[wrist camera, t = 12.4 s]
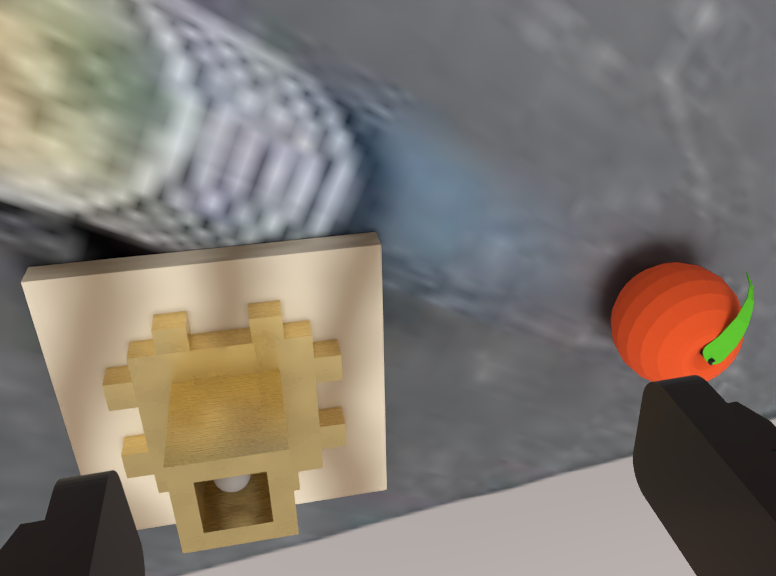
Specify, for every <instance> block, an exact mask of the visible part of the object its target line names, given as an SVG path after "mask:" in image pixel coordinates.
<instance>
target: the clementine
mask: <svg viewBox="0 0 776 576" xmlns="http://www.w3.org/2000/svg"><path fill="white" fill-rule="evenodd" d="M746 273H747V272H746ZM747 277H748V282H749V290H748V295H747V299H746V301H745V302H744V304H743V306H742V308H741V306H740V303H739V300H738V298H737V296H736V294H735V293H734V292H733V291H732V290H731V288H730V287H729V286H728V285H727V284H726V283H725V282H724V280H723V279H722V278H721V277H719V276H717V275H716V274H714V273H712V272H710V271H708V270H706V269H704V268H703V267H701V266H697V265H691V264H685V263H678V262H673V263H664V264H660V265H657V266H654V267H652V268H649V269H646V270H644V271H642V272H640V273H639V274H637V275H635V276H634V277H633V278H632V279H631V280H630V281H629V282H627V283H626V285H625V286H624V287H623V289H622V290H621V291H620V293H619V295H618V297H617V300H616V302H615V304H614V306H613V309H612V314H611V329H612V337H613V342H614V344H615V346H616V348H617V350H618V352H619V354H620V356H621V357H622V359H623V361H624V362H625V363H626V364H627V365H628V366H629V367H631V368H632V369H633V370H634V371H635V372H636V373H637V374H639V375H640V376H641V377H643V378H645V379H647V380H650V381H652V382H654V381H660V380H666V379H672V378H678V377H684V376H690V375H698V376H700V377H702V378H704V379H705V380H706V381H709V380H711V379H713V378H714V377H716V376H718V375H719V374H720V373H721V372H723V371H724V370H725V369H726V368H727V367H728V366H729V365H730V364H731V363H732V362H733V360H734V359H735V358H736V356H737V354H738V352H739V350H740V348H741V345H742V342H743V337H744V333H745V331H746V329H747V327H748V324H749V321H750V318H751V315H752V310H753V306H754V289H753V285H752V283H751V280H750V278H749V275H748V273H747Z"/></svg>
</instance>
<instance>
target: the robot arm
mask: <svg viewBox="0 0 776 576" xmlns="http://www.w3.org/2000/svg"><path fill="white" fill-rule="evenodd" d="M633 466H634V472H635V476H636V479H637V483H638V485H639V487H640V490H641V492H642V493H643V495H644V497H645V498H646V500H647V501H648V503H649V504H650V506H651V507H652V509H653V510H654V512H655V513H656V515H657V516H658V518H659V519H660V521H661V522H662V524H663V525H664V527H665V528H666V530H667V531H668V533H669V534H670V536H671V537H672V539H673V541H674V542H675V544H676V545H677V546H678V548H679V550H680V551H681V552H682V554H683V556H684V557H685V559H686V560H687V562H688V563H689V565H690V566H691V568H692V569H693V571H694V572H695V574H696V575H697V576H776V427H775V426H774V425H773V424H772V422H771V421H769V420H767V419H766V418H764V417H762V416H761V415H759V414H757V413H755V412H754V411H752V410H750V409H749V408H747V407H745V406H743V405H742V404H740V403H738V402H732V403H726V402H725V400H724V399H723V398H722V397H721V396H720V395H719V394H718V393H717V392H716V391H715V390H714V389H713V388H712V386H711V385H710V384H709V383H708V382H707V381H706V380H705V379H704V378H702V377H700V376H698V375H690V376H684V377H678V378H672V379H666V380H660V381H654V382H650V383H648V384H647V385H646V387H645V389H644V392H643V397H642V403H641V409H640V415H639V421H638V427H637V433H636V440H635V446H634V452H633ZM0 576H145V567H144V557H143V550H142V545H141V541H140V538H139V535H138V532H137V529H136V526H135V523H134V520H133V517H132V514H131V511H130V507H129V504H128V501H127V498H126V495H125V492H124V489H123V486H122V483H121V480H120V477H119V475H118V473H117V472H116V471H115V470H111V471H105V472H99V473H93V474H87V475H81V476H75V477H69V478H63V479H59V480H58V481H57V482H56V484H55V486H54V489H53V493H52V496H51V500H50V503H49V507H48V511H47V514H46V518H45V520H42V521H37V522H31V523H25V524H20V525H19V527H18V528H17V529H16V531H15V532H14V533H13V534H12V536H11V537H10V538H9V539H8V541H7V542H6V543H5V545H4V546H3V547H2V548H1V550H0Z"/></svg>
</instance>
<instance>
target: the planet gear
mask: <svg viewBox="0 0 776 576" xmlns="http://www.w3.org/2000/svg"><path fill="white" fill-rule="evenodd" d="M248 314H249V324H250V327H247V328H238V329H230V330H222V331H214V332H205V333H197V334H191V332H190V326H189V321H188V315H187V311H181V312H172V313H163V314H155V315H153V321H152V328H151V333H152V338H153V339H147V340H139V341H130V342H129V347H128V352H127V358H126V360H127V364H128V365H125V366H117V367H109V368H106V371H105V375H104V380H103V385H102V387H103V391H104V394H105V398H106V402H107V406H108V409H109V411H115V410H122V409H130V408H137V407H138V409H139V413H140V418H141V422H142V426H143V430H144V434H141V435H134V436H127V437H124V441H123V447H122V453H121V458H122V461H123V465H124V469H125V473H126V476H127V478H134V477H140V476H147V475H155V480H156V484H157V488H158V492H159V493H164V492H169V495H170V499H171V504H172V508H173V512H174V517H175V521H176V525H177V530H178V534H179V538H180V542H181V547H182V551H183V553H189V552H195V551H201V550H207V549H213V548H219V547H224V546H230V545H236V544H242V543H248V542H254V541H260V540H266V539H272V538H278V537H284V536H290V535H296V534H299V531H298V522H297V513H296V504H295V495H294V491H296V490H300V483H299V473H298V472H300V471H307V470H313V469H319V468H323V460H322V449H327V448H334V447H341V446H347V445H346V427H345V420H344V416H343V411H342V407H341V406H340V407H333V408H326V409H319V410H318V399H317V387H316V383H323V382H330V381H338V380H343V376H342V359H341V352H340V348H339V344H338V340H337V339H333V340H325V341H317V342H313V338H312V332H311V327H310V322H309V320H305V321H297V322H288V323H283V321H282V313H281V306H280V300H276V301H268V302H259V303H250V304H248ZM247 474H251V477H250V480H249V482H248V483H247V485H246V486H245V487H244V488H243V489H241V490H239V491H237V492H225V491H222V490H221V489H219V488H218V487H217V486H216V484H215V482H214V479H221V478H228V477H234V476H241V475H247Z"/></svg>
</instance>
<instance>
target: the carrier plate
mask: <svg viewBox="0 0 776 576" xmlns="http://www.w3.org/2000/svg"><path fill="white" fill-rule="evenodd" d="M21 284H22V287H23V290H24V293H25V297H26V300H27V303H28V306H29V309H30V313H31V316H32V319H33V322H34V325H35V329H36V332H37V335H38V338H39V342H40V345H41V348H42V351H43V354H44V358H45V361H46V364H47V367H48V370H49V374H50V377H51V380H52V383H53V387H54V390H55V393H56V396H57V399H58V403H59V406H60V409H61V412H62V416H63V419H64V422H65V425H66V428H67V432H68V435H69V438H70V441H71V444H72V448H73V451H74V454H75V457H76V461H77V464H78V467H79V470H80V473H81V475H87V474H93V473H99V472H105V471H111V470H115V471H116V472H117V473H118V475H119V477H120V480H121V483H122V486H123V489H124V492H125V495H126V498H127V501H128V504H129V507H130V511H131V514H132V517H133V520H134V523H135V526H136V529H137V530H139V529H145V528H151V527H158V526H164V525H170V524H176V521H175V517H174V512H173V508H172V504H171V499H170V495H169V492H164V493H159V492H158V488H157V484H156V480H155V475H147V476H140V477H134V478H127V476H126V473H125V469H124V465H123V461H122V458H121V453H122V447H123V441H124V437H127V436H134V435H141V434H144V430H143V426H142V422H141V418H140V413H139V409H138V407H137V408H130V409H122V410H115V411H109V409H108V406H107V402H106V398H105V394H104V391H103V387H102V385H103V380H104V375H105V371H106V368H109V367H117V366H125V365H128V364H127V360H126V358H127V352H128V347H129V342H130V341H139V340H147V339H153V338H152V333H151V328H152V321H153V315H155V314H163V313H172V312H181V311H187V315H188V321H189V326H190V332H191V334H197V333H205V332H214V331H222V330H230V329H238V328H247V327H250V324H249V314H248V304H250V303H259V302H268V301H276V300H280V306H281V313H282V321H283V323H288V322H297V321H305V320H309V322H310V327H311V332H312V338H313V342H317V341H325V340H333V339H337V340H338V344H339V348H340V352H341V359H342V376H343V380H338V381H330V382H323V383H316V387H317V399H318V410H319V409H326V408H333V407H340V406H341V407H342V411H343V416H344V420H345V427H346V445H347V446H341V447H334V448H327V449H322V460H323V468H319V469H313V470H307V471H300V472H298V473H299V483H300V490H296V491H294V495H295V504H301V503H307V502H313V501H319V500H325V499H332V498H338V497H344V496H350V495H356V494H363V493H369V492H375V491H381V490H387V481H386V435H385V389H384V343H383V298H382V252H381V243H380V240H379V238H378V236H377V233H376V232H369V233H359V234H349V235H339V236H330V237H320V238H310V239H300V240H290V241H280V242H271V243H261V244H251V245H241V246H231V247H221V248H212V249H202V250H192V251H182V252H172V253H162V254H153V255H143V256H133V257H123V258H113V259H103V260H94V261H84V262H74V263H64V264H54V265H44V266H35V267H28V269H27V271H26V273H25V275H24V277H23V279H22V281H21ZM250 477H251V474H247V475H241V476H234V477H228V478H221V479H214V482H215V484H216V486H217V487H218V488H219V489H221V490H222V491H225V492H237V491H239V490H241V489H243V488H244V487H245V486H246V485H247V483H248V482H249V480H250Z"/></svg>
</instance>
